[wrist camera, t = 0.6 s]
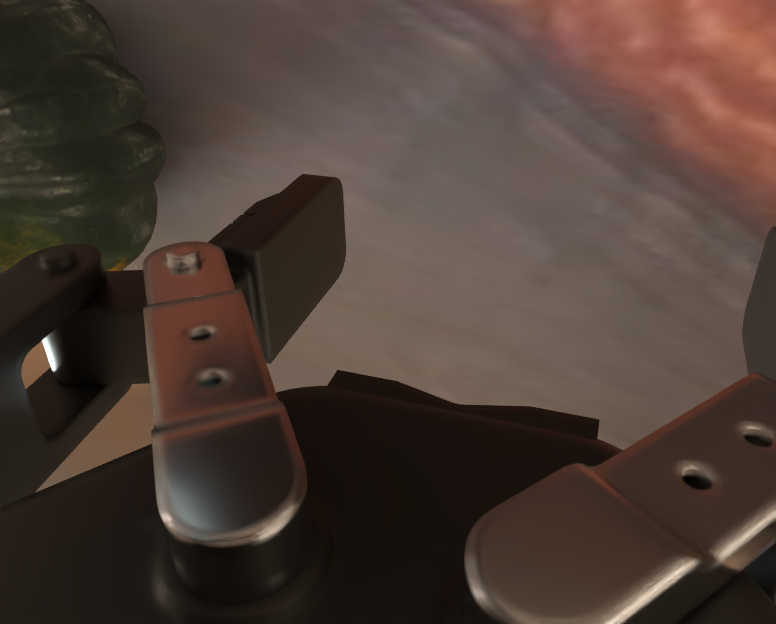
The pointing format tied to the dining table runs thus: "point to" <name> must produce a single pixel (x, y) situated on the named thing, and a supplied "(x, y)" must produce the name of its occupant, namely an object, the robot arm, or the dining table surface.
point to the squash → (71, 137)
